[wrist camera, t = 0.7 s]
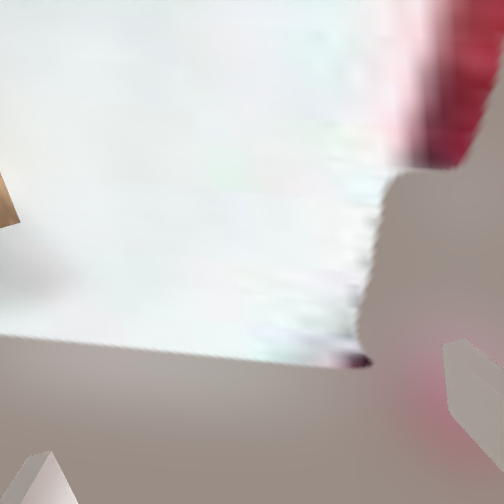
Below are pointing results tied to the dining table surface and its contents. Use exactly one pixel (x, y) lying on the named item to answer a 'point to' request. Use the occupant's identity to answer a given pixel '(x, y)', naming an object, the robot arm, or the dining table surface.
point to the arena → (6, 207)
